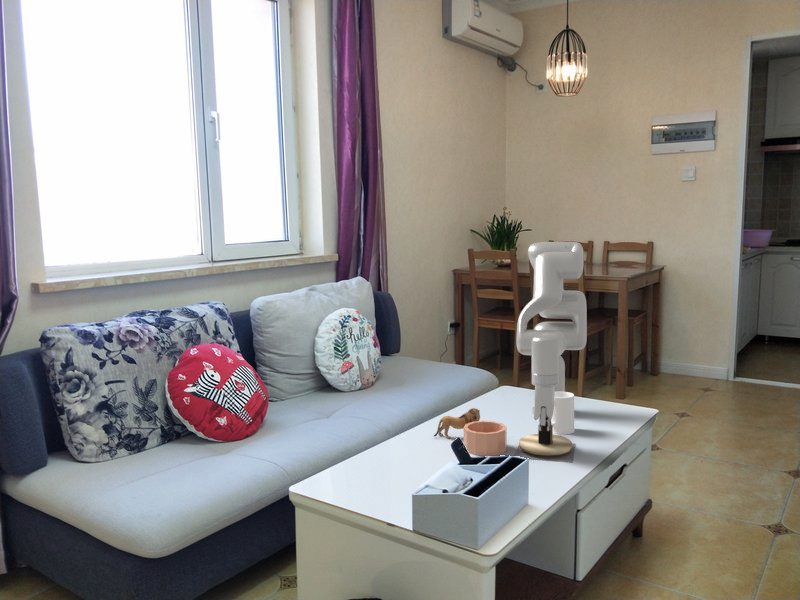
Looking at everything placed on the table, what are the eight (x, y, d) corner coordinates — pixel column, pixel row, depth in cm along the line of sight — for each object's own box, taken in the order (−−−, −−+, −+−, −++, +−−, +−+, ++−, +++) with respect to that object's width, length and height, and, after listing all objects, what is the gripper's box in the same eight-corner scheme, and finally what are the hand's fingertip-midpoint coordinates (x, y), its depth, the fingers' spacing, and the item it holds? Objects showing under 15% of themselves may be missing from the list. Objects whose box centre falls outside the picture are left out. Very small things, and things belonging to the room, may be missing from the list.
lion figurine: (478, 433, 212) (478, 405, 211) (482, 438, 207) (481, 410, 206) (432, 435, 211) (431, 407, 210) (434, 441, 206) (433, 412, 205)
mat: (520, 441, 203) (520, 439, 203) (575, 445, 198) (575, 443, 198) (513, 460, 188) (513, 457, 188) (572, 464, 183) (572, 462, 183)
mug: (555, 440, 203) (555, 401, 202) (534, 433, 210) (534, 396, 209) (580, 432, 211) (580, 394, 209) (559, 425, 217) (559, 389, 216)
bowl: (469, 442, 204) (468, 419, 203) (508, 445, 200) (508, 422, 199) (460, 455, 192) (460, 432, 191) (502, 459, 189) (502, 434, 188)
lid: (522, 435, 203) (522, 416, 202) (573, 439, 198) (573, 419, 197) (515, 453, 188) (515, 432, 188) (570, 457, 184) (571, 436, 183)
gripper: (534, 371, 200) (535, 430, 202) (528, 385, 184) (528, 450, 186) (560, 372, 197) (560, 432, 200) (556, 387, 182) (556, 452, 184)
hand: (545, 440), depth 193 cm, fingers closed on lid, 4 cm apart
